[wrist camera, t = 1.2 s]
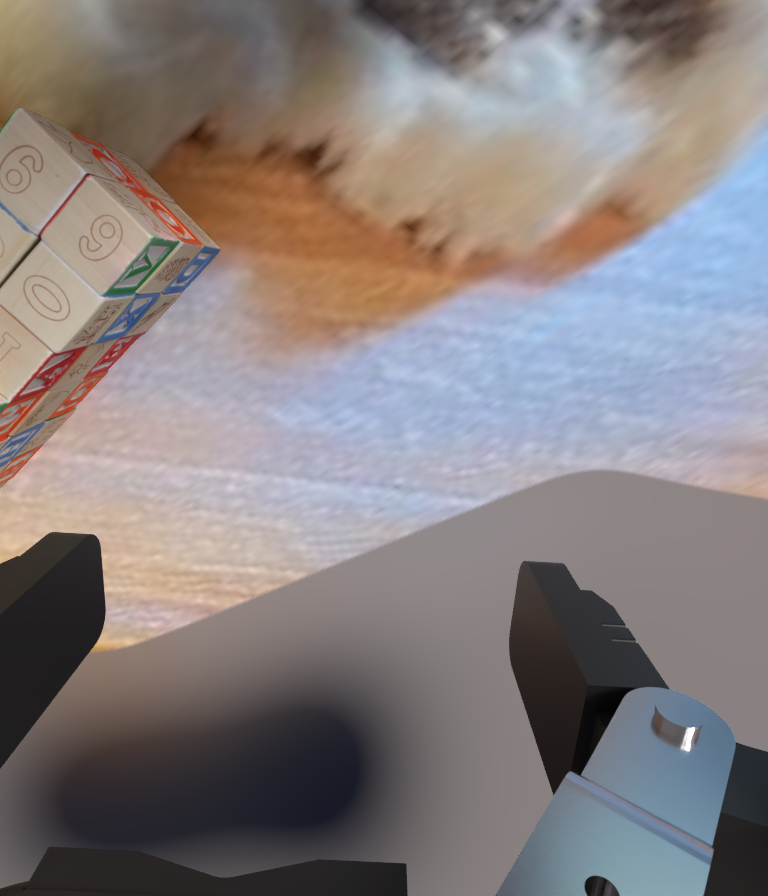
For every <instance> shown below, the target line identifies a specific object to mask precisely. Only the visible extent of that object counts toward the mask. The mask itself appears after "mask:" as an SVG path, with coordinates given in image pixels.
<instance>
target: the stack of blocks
mask: <svg viewBox="0 0 768 896" xmlns="http://www.w3.org/2000/svg"><path fill="white" fill-rule="evenodd" d="M220 250H221V249H220V248H219V246H218V245H217V244H216V243H215V242H214V241H213V240H212V239H211V238H210V237H209V236H208V235H207V234H206V233H205V232H204V231H203V230H202V229H201V228H200V227H199V226H198V225H197V224H196V223H195V222H194V221H193V220H192V219H191V218H190V217H189V216H188V215H187V214H186V213H185V212H184V211H183V210H182V209H181V208H180V207H179V206H178V205H177V204H176V203H175V201H174V200H173V199H172V198H171V197H170V196H169V195H168V194H167V193H166V192H165V191H164V190H163V189H162V188H161V187H160V186H159V185H158V184H157V183H156V182H155V181H154V180H153V178H152V177H150V176H149V175H148V174H147V173H146V172H145V171H144V170H143V169H142V168H141V167H140V166H139V165H138V164H137V163H136V162H135V161H134V160H133V159H131V158H130V157H128V156H126V155H124V154H122V153H119V152H117V151H114V150H111V149H109V148H106V147H104V146H103V145H102V144H100V143H98V142H95V141H93V140H90V139H88V138H86V137H83V136H81V135H79V134H76V133H73V132H70V131H68V130H67V129H66V128H64V127H63V126H62V125H60V124H57V123H55V122H53V121H50V120H48V119H46V118H44V117H42V116H40V115H37V114H35V113H33V112H31V111H28V110H26V109H24V108H18V109H17V110H15V111H14V112H13V113H12V115H11V116H10V118H9V119H8V121H7V122H6V123H5V125H4V126H3V127H2V129H1V130H0V488H1V487H2V486H3V485H4V484H5V483H6V482H7V481H8V480H9V479H11V478H12V477H14V476H15V474H16V473H17V472H18V471H19V470H20V469H21V468H22V467H23V466H24V465H25V464H26V463H27V462H28V460H29V459H30V458H31V457H32V456H33V455H34V454H35V453H36V452H37V451H38V450H39V449H40V448H41V447H42V445H43V444H44V443H45V442H46V441H47V440H48V439H49V438H50V437H51V436H52V435H53V434H54V433H55V432H56V431H57V430H58V429H59V428H60V427H61V425H62V424H63V423H64V422H65V421H66V420H67V419H68V418H69V417H70V416H71V415H72V414H73V412H74V411H75V410H76V406H77V404H78V403H79V402H81V401H82V400H83V398H84V397H85V396H86V395H87V394H88V393H89V392H90V391H91V390H92V389H93V388H94V386H95V385H96V384H97V383H98V382H99V381H100V380H101V379H102V378H103V377H104V376H105V375H106V373H107V372H108V370H109V368H110V367H111V366H112V365H113V364H114V363H115V362H116V361H117V360H118V359H119V358H120V357H121V356H122V355H123V353H124V352H125V351H126V350H127V349H128V348H129V347H130V346H131V345H132V344H133V343H134V341H135V340H136V339H137V338H138V337H139V336H140V335H141V334H142V333H143V332H146V331H148V330H149V329H150V327H151V326H152V325H153V324H154V323H155V322H156V321H157V320H158V319H159V318H160V317H161V316H162V315H163V314H164V313H165V311H166V310H167V309H168V308H169V307H170V306H171V305H172V304H173V303H174V302H175V301H176V300H177V298H178V297H179V296H180V295H181V294H182V292H183V290H184V289H185V288H186V287H187V286H188V285H189V284H190V283H191V282H192V281H193V280H194V279H195V278H196V277H197V276H198V275H199V274H200V272H201V271H202V270H203V269H204V268H205V267H206V266H207V265H208V264H209V263H210V261H211V260H212V259H213V258H214V257H215V256H216V255H217V254H218V253H219V251H220Z"/></svg>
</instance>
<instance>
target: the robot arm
mask: <svg viewBox="0 0 768 896" xmlns="http://www.w3.org/2000/svg"><path fill="white" fill-rule="evenodd" d="M105 611H106V609H105V595H104V582H103V569H102V557H101V546H100V542H99V540H98V538H97V537H96V536H95V535H93V534H77V533H60V532H51V533H49V534H47V535H46V536H45V537H44V538H42V539H41V540H40V541H39V542H37V543H36V544H35V545H34V546H32V547H31V548H30V549H28V550H27V551H26V552H25V553H23V554H22V555H21V556H17V557H15V558H12V559H10V560H8V561H6V562H3V563H1V564H0V768H1V767H2V766H3V764H4V763H5V762H6V761H7V759H8V758H9V757H10V755H11V754H12V753H13V751H14V750H15V749H16V747H17V746H18V745H19V743H20V742H21V741H22V740H23V738H24V737H25V736H26V734H27V733H28V732H29V730H30V729H31V728H32V726H33V725H34V724H35V723H36V721H37V720H38V719H39V717H40V716H41V715H42V713H43V712H44V711H45V709H46V708H47V707H48V706H49V704H50V703H51V702H52V700H53V699H54V698H55V696H56V695H57V694H58V692H59V691H60V690H61V688H62V687H63V686H64V685H65V683H66V682H67V681H68V679H69V678H70V677H71V675H72V674H73V673H74V671H75V670H76V669H77V668H78V666H79V665H80V663H81V662H82V661H83V659H84V658H85V657H86V656H87V654H88V653H89V652H90V650H91V649H92V648H93V647H94V645H95V644H96V642H97V641H98V639H99V637H100V635H101V632H102V629H103V625H104V621H105ZM509 652H510V661H511V666H512V668H513V672H514V675H515V678H516V681H517V685H518V688H519V691H520V693H521V696H522V700H523V703H524V706H525V709H526V712H527V715H528V718H529V721H530V725H531V728H532V730H533V734H534V736H535V740H536V743H537V746H538V749H539V752H540V755H541V758H542V761H543V765H544V767H545V771H546V773H547V777H548V780H549V783H550V786H551V789H552V792H553V795H554V796H553V798H552V800H551V801H550V803H549V805H548V807H547V808H546V810H545V812H544V813H543V815H542V817H541V818H540V820H539V822H538V824H537V825H536V827H535V829H534V830H533V832H532V834H531V836H530V837H529V839H528V841H527V842H526V844H525V846H524V848H523V850H522V851H521V853H520V855H519V856H518V858H517V860H516V862H515V863H514V865H513V866H512V868H511V870H510V872H509V873H508V875H507V877H506V879H505V880H504V882H503V884H502V886H501V887H500V889H499V890H498V892H497V894H496V896H768V752H766V751H762V750H759V749H755V748H752V747H748V746H745V745H742V744H739V743H736V742H735V738H734V735H733V733H732V731H731V729H730V728H729V726H728V725H727V724H726V722H725V721H724V720H723V719H722V718H721V717H720V716H719V715H717V713H715V712H714V711H713V710H712V709H710V708H709V707H707V706H706V705H704V704H703V703H701V702H699V701H697V700H696V699H693V698H692V697H689V696H687V695H685V694H682V693H679V692H676V691H673V690H670V689H669V688H668V686H667V685H666V683H665V682H664V680H663V679H662V677H661V676H660V674H659V673H658V672H657V670H656V669H655V667H654V666H653V664H652V663H651V661H650V660H649V658H648V657H647V655H646V654H645V653H644V651H643V650H642V648H641V647H640V645H639V644H638V643H636V640H635V638H634V636H633V635H632V634H631V632H630V631H629V629H628V628H625V623H624V622H623V620H622V619H621V617H620V616H619V615H618V613H617V612H616V610H615V609H614V607H613V606H612V605H610V604H609V603H608V602H606V601H605V600H604V599H602V598H601V597H599V596H598V595H597V594H595V593H594V592H593V591H587V590H580V588H579V587H578V585H577V584H576V582H575V580H574V579H573V577H572V575H571V574H570V572H569V571H568V569H567V567H566V566H565V565H564V564H563V563H550V562H532V561H524V562H523V563H522V564H521V566H520V570H519V574H518V581H517V588H516V595H515V601H514V608H513V615H512V621H511V629H510V637H509ZM0 896H407V874H406V864H403V863H382V862H360V861H339V860H315V861H310V862H305V863H300V864H295V865H290V866H285V867H280V868H275V869H271V870H265V871H260V872H256V873H251V874H246V875H241V876H236V877H230V878H219V877H214V876H211V875H209V874H206V873H203V872H199V871H196V870H194V869H191V868H188V867H184V866H182V865H178V864H175V863H173V862H170V861H166V860H163V859H160V858H157V857H155V856H151V855H148V854H145V853H142V852H140V851H130V850H129V851H128V850H109V849H88V848H66V847H49V848H48V849H47V851H46V853H45V855H44V856H43V858H42V860H41V862H40V863H39V865H38V867H37V868H36V870H35V872H34V874H33V875H32V877H31V879H30V881H27V882H22V883H18V884H14V885H11V886H8V887H4V888H1V889H0Z"/></svg>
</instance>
